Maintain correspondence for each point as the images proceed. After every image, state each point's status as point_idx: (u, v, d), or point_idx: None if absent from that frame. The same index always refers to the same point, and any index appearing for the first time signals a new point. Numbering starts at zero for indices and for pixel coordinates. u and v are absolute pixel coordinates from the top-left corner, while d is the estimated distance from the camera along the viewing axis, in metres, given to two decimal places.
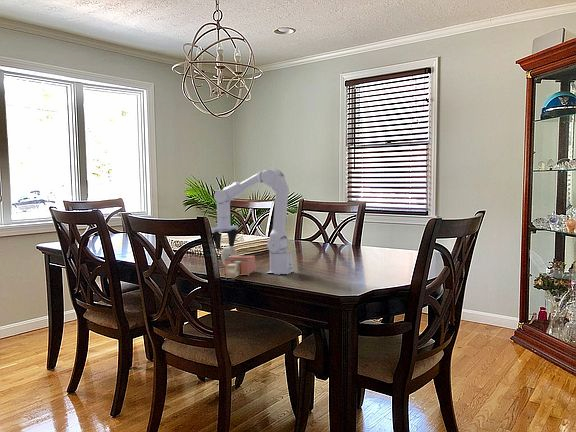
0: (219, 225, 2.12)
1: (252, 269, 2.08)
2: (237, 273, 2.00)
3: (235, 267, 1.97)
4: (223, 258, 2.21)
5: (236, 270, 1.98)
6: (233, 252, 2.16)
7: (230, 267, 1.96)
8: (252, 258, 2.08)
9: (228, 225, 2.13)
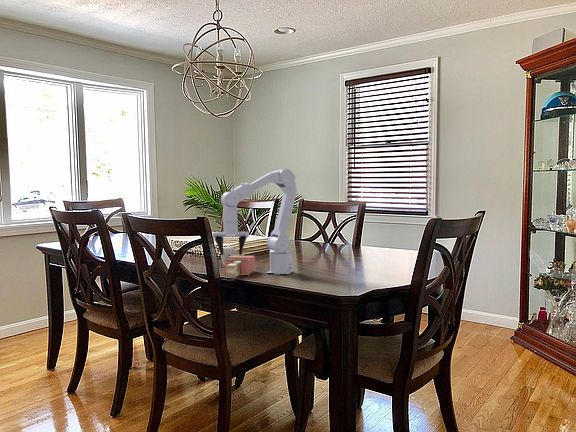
0: None
1: (252, 269, 2.08)
2: (237, 273, 2.00)
3: (235, 267, 1.97)
4: (223, 258, 2.21)
5: (236, 270, 1.98)
6: (233, 252, 2.16)
7: (230, 267, 1.96)
8: (252, 258, 2.08)
9: (229, 231, 1.94)
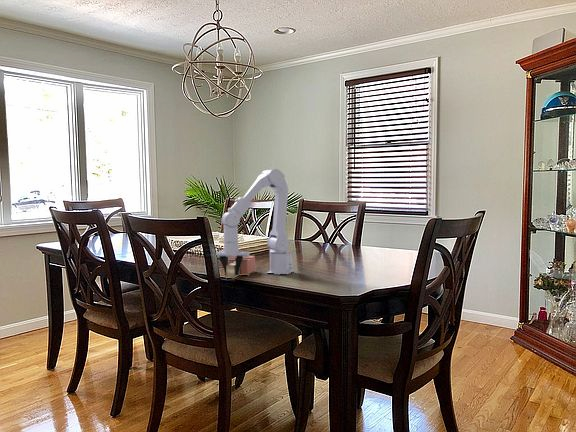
0: (224, 250, 1.97)
1: (252, 269, 2.08)
2: None
3: (235, 267, 1.97)
4: None
5: None
6: None
7: (230, 267, 1.96)
8: (252, 258, 2.08)
9: (230, 251, 1.94)
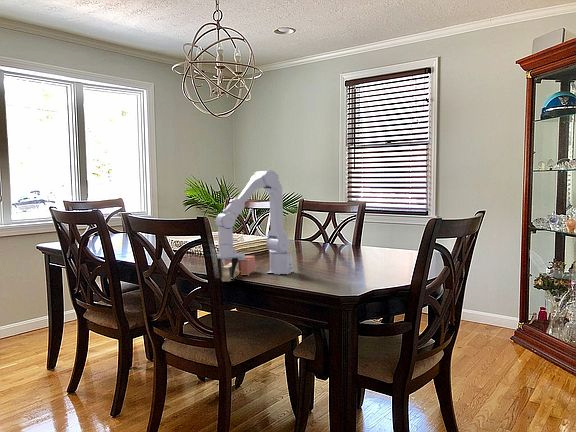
0: None
1: (252, 269, 2.08)
2: None
3: (230, 269, 1.93)
4: None
5: (231, 272, 1.94)
6: (233, 252, 2.16)
7: (225, 269, 1.91)
8: (252, 258, 2.08)
9: (226, 253, 1.89)
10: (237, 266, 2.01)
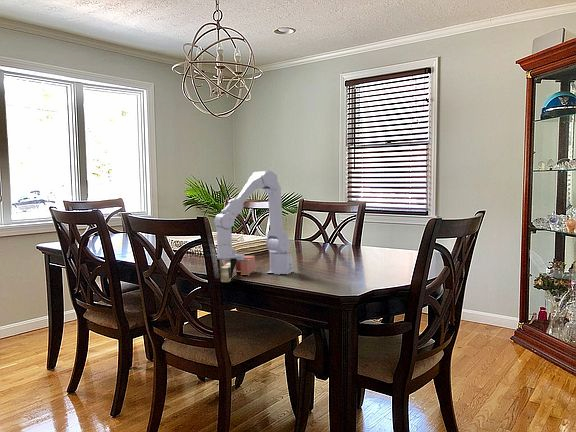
0: None
1: (252, 269, 2.08)
2: None
3: (229, 269, 1.92)
4: (223, 258, 2.21)
5: None
6: (233, 252, 2.16)
7: (224, 270, 1.90)
8: (252, 258, 2.08)
9: (225, 254, 1.88)
10: None
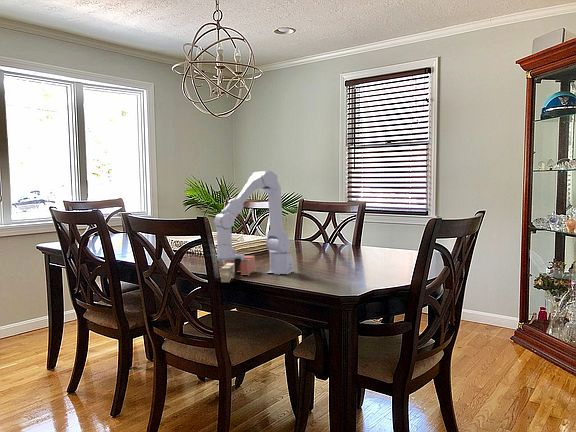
0: None
1: (252, 269, 2.08)
2: (231, 276, 1.95)
3: (229, 270, 1.92)
4: (223, 258, 2.21)
5: (230, 272, 1.93)
6: (233, 252, 2.16)
7: (225, 270, 1.90)
8: (252, 258, 2.08)
9: (225, 254, 1.88)
10: (234, 267, 2.00)
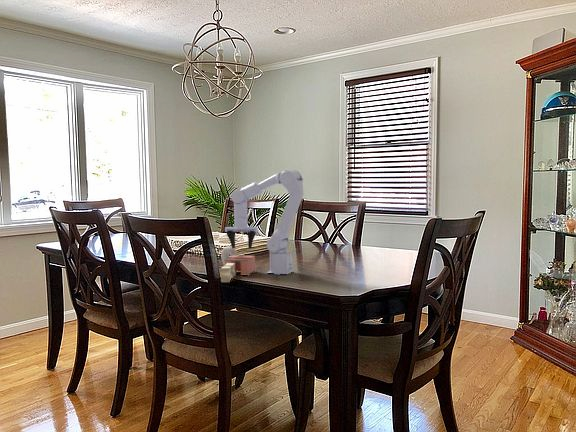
0: None
1: (252, 269, 2.08)
2: (231, 276, 1.95)
3: (229, 270, 1.92)
4: (223, 258, 2.21)
5: (230, 273, 1.93)
6: (233, 252, 2.16)
7: (225, 270, 1.90)
8: (252, 258, 2.08)
9: (239, 226, 2.09)
10: (234, 267, 2.00)
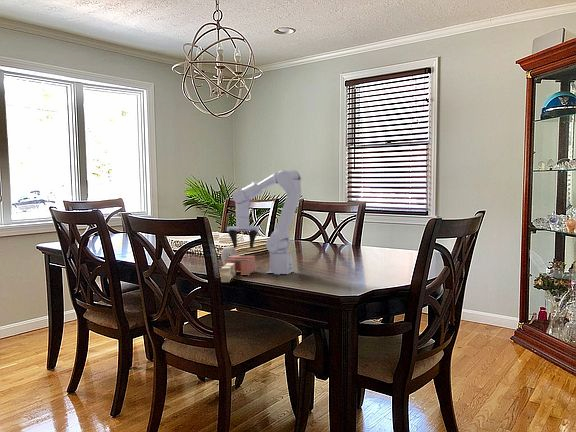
0: None
1: (252, 269, 2.08)
2: (231, 276, 1.95)
3: (229, 270, 1.92)
4: (223, 258, 2.21)
5: (230, 272, 1.93)
6: (233, 252, 2.16)
7: (225, 270, 1.90)
8: (252, 258, 2.08)
9: (240, 225, 2.12)
10: (234, 267, 2.00)
